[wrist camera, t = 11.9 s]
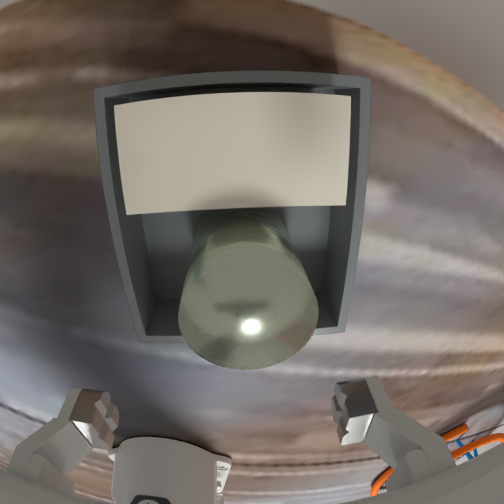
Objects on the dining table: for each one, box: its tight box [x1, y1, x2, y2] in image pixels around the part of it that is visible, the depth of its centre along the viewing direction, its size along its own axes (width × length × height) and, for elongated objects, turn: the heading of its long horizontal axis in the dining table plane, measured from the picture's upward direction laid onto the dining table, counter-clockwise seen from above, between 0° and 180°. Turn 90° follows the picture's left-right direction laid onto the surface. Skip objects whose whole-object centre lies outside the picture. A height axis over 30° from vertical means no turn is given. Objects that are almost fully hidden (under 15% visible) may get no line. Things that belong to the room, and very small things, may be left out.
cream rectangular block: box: [114, 92, 351, 215], centre depth 15 cm, size 5×10×6 cm, turn 91°
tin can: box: [178, 207, 319, 370], centre depth 18 cm, size 6×6×8 cm
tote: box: [93, 71, 371, 342], centre depth 19 cm, size 16×14×5 cm
